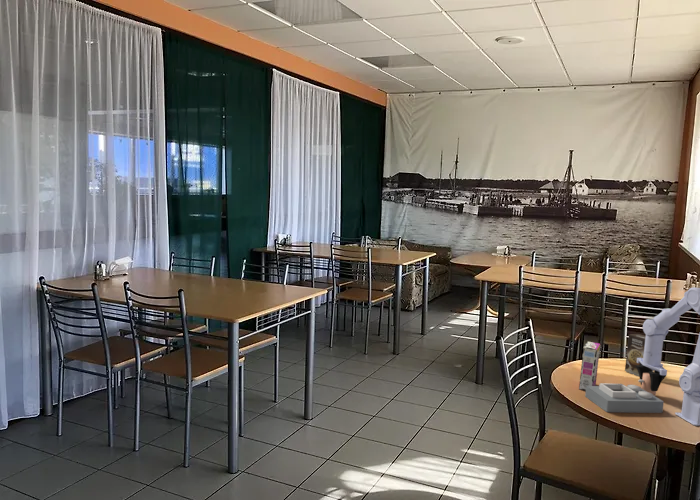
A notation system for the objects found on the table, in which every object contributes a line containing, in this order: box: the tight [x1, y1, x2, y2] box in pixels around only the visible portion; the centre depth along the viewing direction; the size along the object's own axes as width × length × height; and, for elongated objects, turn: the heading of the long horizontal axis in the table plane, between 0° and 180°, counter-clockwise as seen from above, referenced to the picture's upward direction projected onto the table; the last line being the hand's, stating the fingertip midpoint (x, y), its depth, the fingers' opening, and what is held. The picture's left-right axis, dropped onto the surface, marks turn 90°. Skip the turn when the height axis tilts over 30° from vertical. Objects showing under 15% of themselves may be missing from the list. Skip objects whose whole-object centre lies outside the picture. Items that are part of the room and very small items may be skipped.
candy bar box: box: [578, 341, 601, 392], centre depth 207 cm, size 11×5×16 cm, turn 149°
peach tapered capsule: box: [637, 372, 657, 397], centre depth 201 cm, size 5×7×8 cm
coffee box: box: [624, 333, 654, 377], centre depth 226 cm, size 9×6×16 cm
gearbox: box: [584, 382, 664, 414], centre depth 191 cm, size 14×20×6 cm
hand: (648, 387), depth 201 cm, fingers open, 5 cm apart
